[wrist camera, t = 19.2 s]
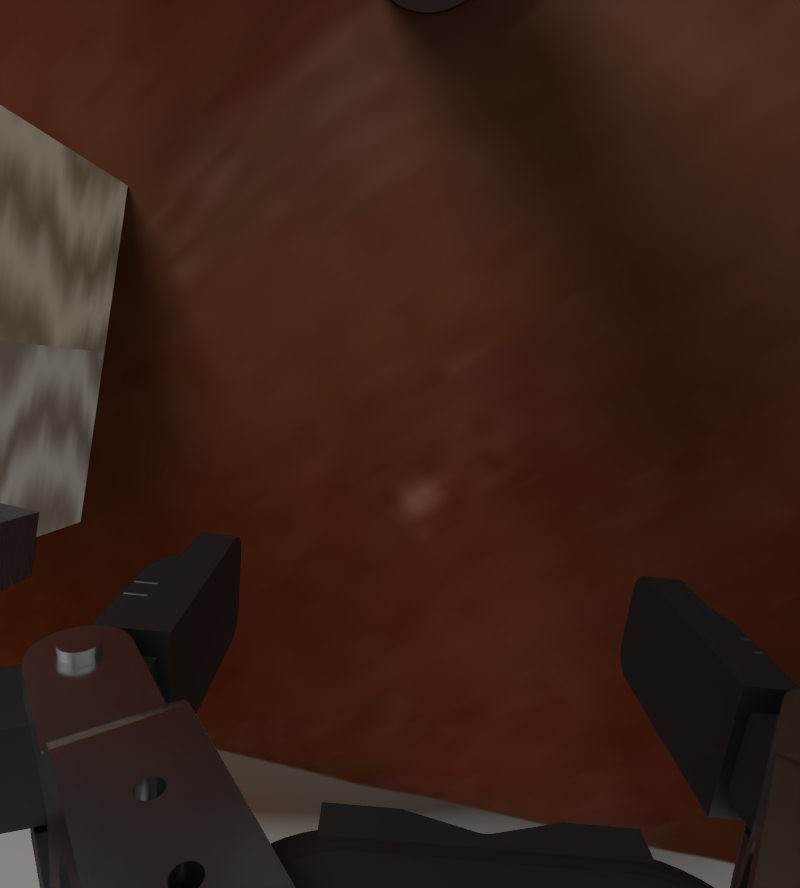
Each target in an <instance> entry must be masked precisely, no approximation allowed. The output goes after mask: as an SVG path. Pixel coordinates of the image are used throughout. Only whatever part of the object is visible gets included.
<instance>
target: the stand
mask: <svg viewBox="0 0 800 888" xmlns="http://www.w3.org/2000/svg"><path fill="white" fill-rule="evenodd" d="M127 189H128V186H127V185H126V184H124V183H122V182H121V181H119V180H118V179H116V178H115V177H113V176H111V175H110V174H108V173H107V172H105V171H104V170H102V169H100V168H99V167H97V166H96V165H94V164H92V163H91V162H89V161H88V160H86V159H85V158H83V157H81V156H80V155H78V154H77V153H75V152H74V151H72V150H70V149H69V148H67V147H66V146H64V145H63V144H61V143H59V142H58V141H56V140H55V139H53V138H52V137H50V136H48V135H47V134H45V133H44V132H42V131H41V130H39V129H37V128H36V127H34V126H33V125H31V124H29V123H28V122H26V121H25V120H23V119H22V118H20V117H18V116H17V115H15V114H14V113H12V112H11V111H9V110H7V109H6V108H4V107H3V106H1V105H0V503H3V504H7V505H12V506H16V507H21V508H25V509H30V510H34V511H39V520H38V527H37V535H36V537H38V536H41V535H44V534H47V533H50V532H53V531H56V530H59V529H62V528H65V527H68V526H70V525H73V524H76V523H79V522H81V516H82V508H83V501H84V494H85V487H86V480H87V473H88V466H89V459H90V452H91V444H92V437H93V430H94V423H95V416H96V409H97V402H98V395H99V388H100V381H101V373H102V366H103V359H104V352H105V345H106V338H107V331H108V324H109V317H110V310H111V302H112V295H113V288H114V281H115V274H116V267H117V260H118V253H119V246H120V238H121V231H122V224H123V217H124V210H125V203H126V196H127Z"/></svg>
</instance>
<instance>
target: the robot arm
mask: <svg viewBox="0 0 800 888" xmlns="http://www.w3.org/2000/svg"><path fill="white" fill-rule="evenodd" d="M392 1H394V2H395V3H397V4H398V5H400V6H402V7H404V8H406V9H409V10H413V11H417V12H430V13H433V12H438V11H444V10H447V9H450V8H452V7H454V6H457V5H459V4H460V3H462V2H463V1H465V0H392ZM240 562H241V542H240V538H239V537H235V536H225V535H214V534H204V533H201V534H199V535H198V537H197V538H196V539H195V540H194V541H193V542H192V544H191V545H190V546H189V547H188V548H187V549H186V551H185V552H184V553H183V554H182V555H181V556H177V555H168V556H166V557H164V558H162V559H160V560H158V561H156V562H154V563H151V564H149V565H147V567H146V568H145V569H144V570H143V571H142V572H141V573H140V574H139V575H138V576H137V577H136V578H135V580H134V582H131V583H130V584H129V586H128V587H127V588H126V589H125V590H124V592H123V594H120V595H119V596H118V597H117V598H116V599H115V600H114V601H113V602H112V604H111V605H110V606H109V607H108V608H107V609H106V610H105V611H104V612H103V613H102V614H101V615H100V616H99V617H98V618H97V619H96V620H95V621H94V623H93V624H92V625H87V626H79V627H73V628H69V629H65V630H61V631H59V632H56V633H53V634H51V635H49V636H46V637H44V638H43V639H41V640H39V641H38V642H36V643H35V644H34V645H32V646H31V647H30V648H29V649H28V650H27V651H26V653H25V654H24V656H23V658H22V664H21V665H16V666H9V667H0V834H1V833H6V832H12V831H17V830H22V829H28V828H30V829H31V839H32V844H33V850H34V856H35V861H36V867H37V873H38V879H39V885H40V888H714V887H712V886H711V885H709V884H707V883H706V882H704V881H702V880H700V879H698V878H696V877H694V876H693V875H690V874H689V873H686V872H685V871H683V870H680V869H678V868H675V867H673V866H671V865H668V864H666V863H663V862H661V861H657V860H654V859H653V857H652V855H651V852H650V850H649V848H648V846H647V844H646V841H645V839H644V837H643V835H642V833H641V830H640V829H633V828H621V827H609V826H597V825H585V824H573V823H557V824H551V825H545V826H538V827H533V828H526V829H520V830H513V831H508V832H501V833H495V834H481V833H477V832H474V831H471V830H467V829H464V828H461V827H457V826H454V825H451V824H448V823H445V822H442V821H438V820H435V819H432V818H428V817H425V816H422V815H418V814H415V813H412V812H409V811H406V810H403V809H394V808H383V807H371V806H360V805H347V804H336V803H324V802H322V807H321V814H320V820H319V827H318V830H316V831H310V832H304V833H300V834H297V835H293V836H290V837H286V838H283V839H281V840H278V841H276V842H273V843H271V844H270V842H269V840H268V839H267V837H266V835H265V833H264V832H263V830H262V828H261V827H260V825H259V823H258V821H257V820H256V818H255V816H254V815H253V813H252V811H251V809H250V807H249V806H248V804H247V802H246V800H245V799H244V797H243V795H242V794H241V792H240V790H239V788H238V786H237V785H236V783H235V781H234V779H233V778H232V776H231V774H230V773H229V771H228V769H227V767H226V766H225V764H224V762H223V760H222V759H221V757H220V755H219V753H218V752H217V750H216V748H215V746H214V745H213V743H212V741H211V739H210V738H209V736H208V734H207V732H206V731H205V729H204V727H203V725H202V724H201V722H200V720H199V719H198V717H197V715H196V713H197V711H198V709H199V707H200V705H201V703H202V701H203V699H204V697H205V695H206V693H207V691H208V689H209V687H210V685H211V683H212V681H213V678H214V676H215V674H216V672H217V670H218V668H219V666H220V664H221V662H222V660H223V658H224V656H225V654H226V652H227V650H228V648H229V646H230V644H231V642H232V639H233V636H234V633H235V629H236V624H237V618H238V608H239V585H240ZM621 666H622V671H623V674H624V677H625V679H626V681H627V682H628V684H629V686H630V687H631V689H632V691H633V692H634V694H635V696H636V697H637V699H638V701H639V702H640V704H641V706H642V707H643V709H644V711H645V713H646V714H647V716H648V718H649V719H650V721H651V723H652V724H653V726H654V728H655V729H656V731H657V733H658V734H659V736H660V738H661V739H662V741H663V743H664V744H665V746H666V748H667V749H668V751H669V753H670V754H671V756H672V758H673V759H674V761H675V763H676V764H677V766H678V768H679V769H680V771H681V773H682V774H683V776H684V778H685V779H686V781H687V783H688V785H689V786H690V788H691V790H692V791H693V793H694V795H695V796H696V798H697V800H698V801H699V803H700V805H701V806H702V808H703V810H704V811H705V813H706V815H707V816H708V817H713V818H725V819H736V820H743V821H744V823H745V824H746V825H745V828H744V831H743V835H742V838H741V842H740V845H739V849H738V854H737V859H736V863H735V868H734V872H733V877H732V881H731V886H730V888H800V686H799V685H797V684H796V683H795V682H794V681H793V680H792V679H791V678H790V677H789V676H788V675H787V674H786V673H785V672H784V671H783V670H782V669H781V668H780V667H779V666H778V665H777V664H776V663H775V662H774V661H773V660H772V659H771V658H770V657H768V656H767V655H765V654H763V651H762V650H761V649H760V648H759V647H758V646H757V645H756V644H755V643H754V642H753V641H749V637H748V636H747V635H746V634H745V633H744V632H743V631H742V630H741V629H739V628H738V627H737V626H736V625H735V624H734V623H733V622H732V621H731V620H729V619H727V618H726V617H724V616H722V615H721V614H719V613H717V612H716V611H714V610H712V609H711V608H709V607H708V606H707V605H706V604H705V603H704V602H703V601H702V600H701V599H700V598H699V597H698V596H697V595H696V594H695V593H694V592H693V591H692V590H691V589H690V588H689V587H688V586H687V585H686V584H685V583H684V582H683V581H681V580H676V579H666V578H655V577H645V576H642V577H640V578H639V579H638V580H637V582H636V584H635V586H634V590H633V594H632V599H631V603H630V608H629V613H628V617H627V622H626V626H625V631H624V636H623V640H622V645H621Z"/></svg>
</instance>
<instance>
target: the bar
mask: <svg viewBox="0 0 800 888" xmlns="http://www.w3.org/2000/svg"><path fill="white" fill-rule="evenodd" d="M38 520H39V511H34V510H30V509H25V508H21V507H16V506H12V505H7V504H3V503H0V590H1V589H3V588H6V587H8V586H10V585H13V584H15V583H17V582H20V581H22V580H24V579H27V578H29V577H31V572H32V565H33V557H34V550H35V542H36V535H37V527H38Z"/></svg>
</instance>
